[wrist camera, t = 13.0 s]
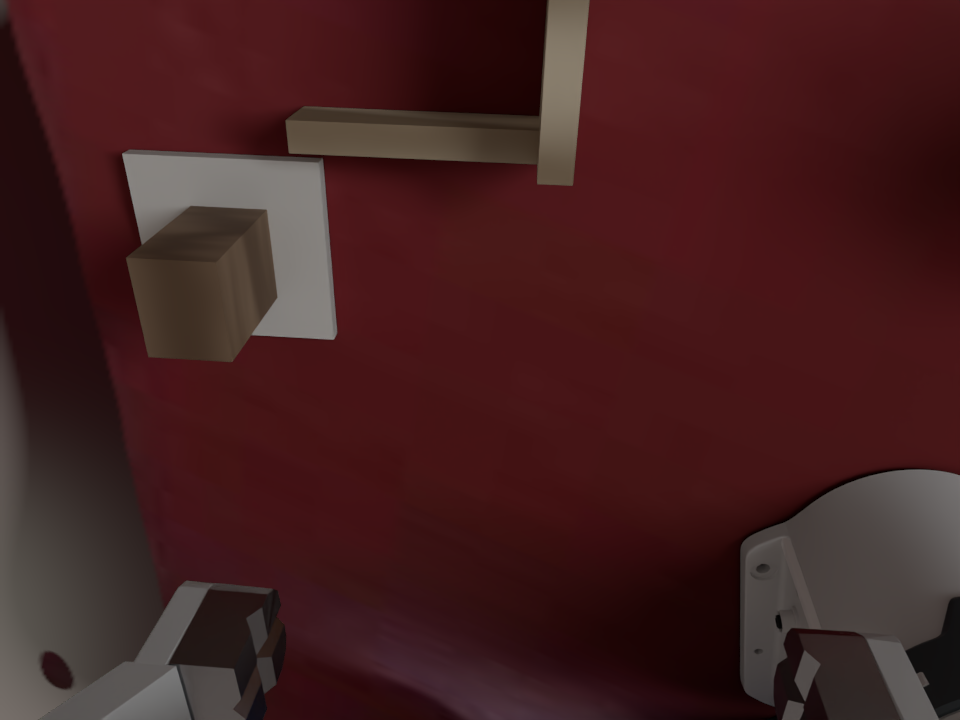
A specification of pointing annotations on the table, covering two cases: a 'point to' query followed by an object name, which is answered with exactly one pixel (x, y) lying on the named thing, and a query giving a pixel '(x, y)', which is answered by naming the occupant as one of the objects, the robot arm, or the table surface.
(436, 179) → the table surface
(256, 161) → the white tile
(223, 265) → the block
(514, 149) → the shelf bay
